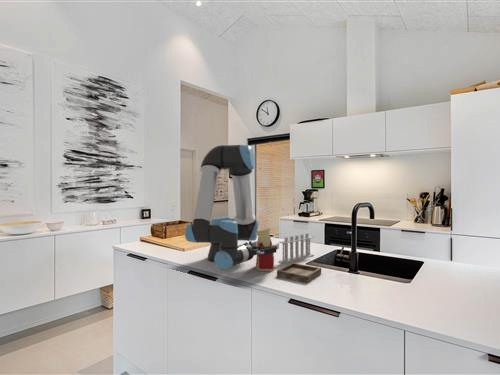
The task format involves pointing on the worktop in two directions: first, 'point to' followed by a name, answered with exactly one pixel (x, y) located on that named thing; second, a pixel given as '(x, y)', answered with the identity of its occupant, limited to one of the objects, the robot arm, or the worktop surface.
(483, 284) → the worktop surface
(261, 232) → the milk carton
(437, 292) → the worktop surface
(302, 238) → the test tube rack
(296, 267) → the walnut tray
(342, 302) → the worktop surface
